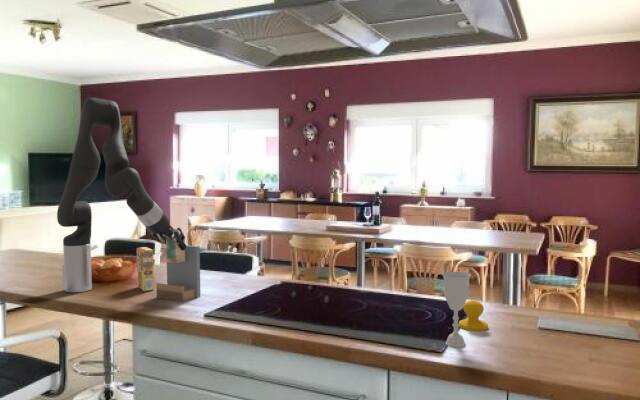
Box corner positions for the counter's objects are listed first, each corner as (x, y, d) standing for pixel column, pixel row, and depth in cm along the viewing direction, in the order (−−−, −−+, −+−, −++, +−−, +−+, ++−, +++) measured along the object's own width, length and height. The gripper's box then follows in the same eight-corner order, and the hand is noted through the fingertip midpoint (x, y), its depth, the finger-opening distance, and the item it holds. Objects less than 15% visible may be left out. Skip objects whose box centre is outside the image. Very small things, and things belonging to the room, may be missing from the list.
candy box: (154, 290, 197) (153, 249, 196) (143, 291, 195) (142, 250, 194) (148, 285, 204) (147, 246, 204) (136, 287, 202) (135, 247, 201)
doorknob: (454, 328, 149) (463, 321, 156) (483, 332, 145) (491, 325, 151) (455, 302, 149) (464, 296, 155) (483, 306, 144) (491, 299, 151)
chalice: (465, 339, 139) (466, 271, 138) (474, 348, 132) (474, 277, 131) (438, 339, 139) (438, 272, 138) (445, 348, 132) (445, 277, 131)
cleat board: (154, 297, 186) (153, 246, 185) (170, 292, 193) (169, 243, 192) (185, 301, 180) (184, 249, 178) (200, 296, 187) (199, 246, 185)
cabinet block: (165, 262, 184) (165, 236, 184) (174, 260, 188) (173, 235, 187) (176, 263, 182) (176, 237, 181) (185, 261, 186) (184, 235, 185)
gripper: (174, 208, 174) (199, 240, 185) (142, 207, 180) (168, 238, 192) (162, 226, 169) (189, 258, 181) (130, 224, 176) (157, 255, 187)
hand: (178, 247), depth 186 cm, fingers closed on cabinet block, 5 cm apart
